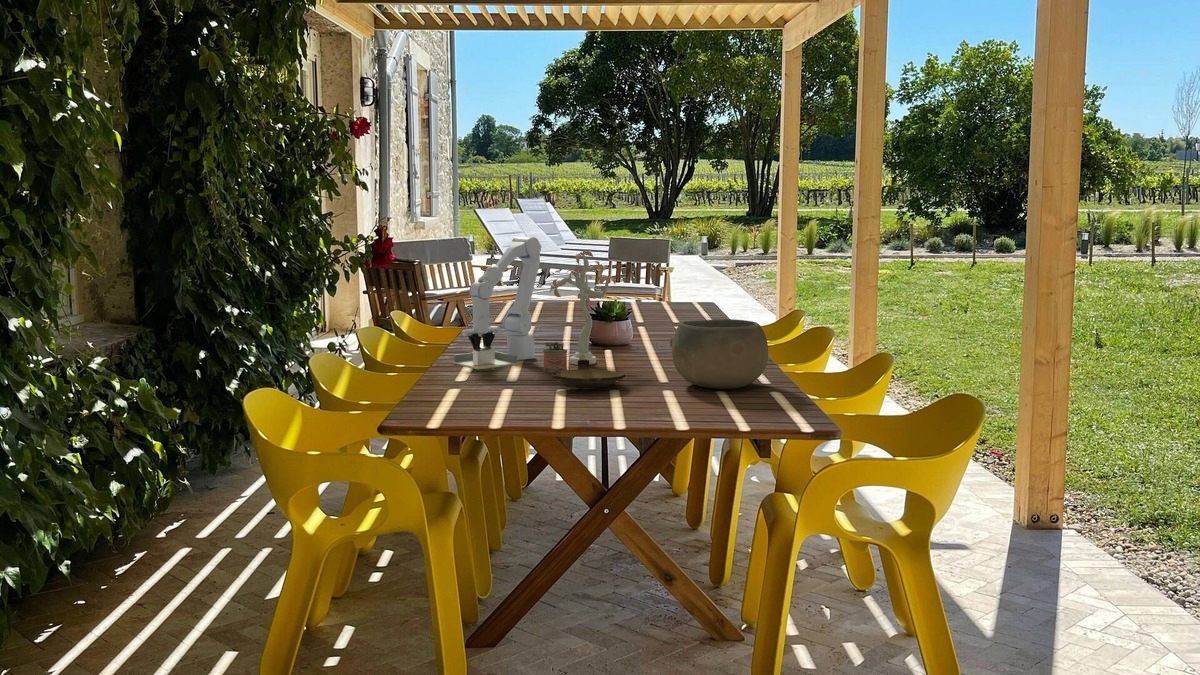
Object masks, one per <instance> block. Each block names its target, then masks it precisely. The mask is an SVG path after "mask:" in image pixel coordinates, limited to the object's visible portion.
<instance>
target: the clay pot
mask: <svg viewBox="0 0 1200 675" xmlns="http://www.w3.org/2000/svg"><path fill="white" fill-rule="evenodd" d="M669 347H670V348H671V355H672V362H673V365H674V367H675V370H676V371H677V372H678V374H679V375H680V376H681V377H682V378H683V379H684V380H685V382H688V383H690V384H692V385H694V386H697V387H703V388H707V389H714V390H733V389H740V388H744V387H746V386H748V385H750V384H752V383H754V382H756V380H758V378H760V377H761V375H762V374H764V372H765V370H766V368H767V365H768V361H769V346H768V338H767V335H766V333H765V331H764V329H763V328H762V326H761V325H760V324H759V323H758V322H757V321H753V320H745V319H735V318H734V319H732V318H730V319H726V318H725V319H724V318H723V319H722V318H721V319H718V318H717V319H715V318H714V319H699V320H698V319H697V320H682V321H680V323H679V324H678V326H677V327H676V328H675V331H674V335H673V336H671V338H670V342H669Z"/></svg>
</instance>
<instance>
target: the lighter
mask: <svg viewBox="0 0 1200 675" xmlns="http://www.w3.org/2000/svg"><path fill="white" fill-rule="evenodd" d="M564 344H565V343H563V342H558V341H555V342H553V341H552V342H545V347H548V348H544V349H542V350H543V351H542V352H543V373H557V372H558V371H561V370H568V355H567V354H568V349H566V348H564V347H565V345H564Z"/></svg>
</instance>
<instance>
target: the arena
mask: <svg viewBox="0 0 1200 675" xmlns="http://www.w3.org/2000/svg"><path fill="white" fill-rule="evenodd" d="M453 364H454V365H458V366H462V367H467V368H470V369H475V370H486V369H493V368H500V367H508V366H515V365H518V360H517V356H516V355H511V354H508V352H501V351H497V350H495V363H491V364H485V365H479V366H477V365H475V364H473V352H468V353H467V352H466V353H465V352H464V353H457V354H453Z"/></svg>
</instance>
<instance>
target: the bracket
mask: <svg viewBox="0 0 1200 675" xmlns="http://www.w3.org/2000/svg"><path fill="white" fill-rule="evenodd" d="M495 351H496V349H495V348H493V347H491V346H490V347H488V346H486V345H483V343H480V349H475V350H474V349H472V353H473V364H475V365H477V366H479V365H485V364H491V363H495Z"/></svg>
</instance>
